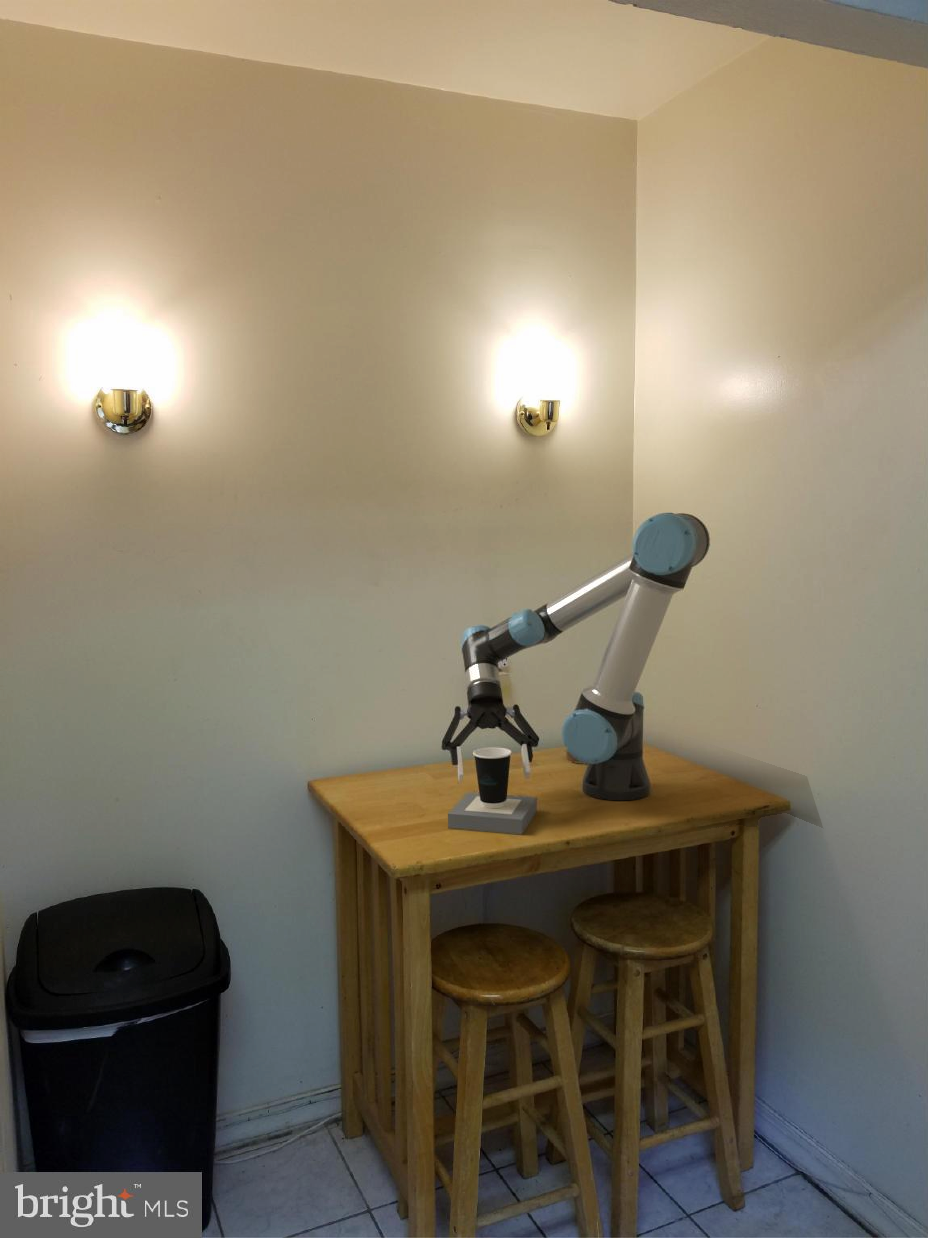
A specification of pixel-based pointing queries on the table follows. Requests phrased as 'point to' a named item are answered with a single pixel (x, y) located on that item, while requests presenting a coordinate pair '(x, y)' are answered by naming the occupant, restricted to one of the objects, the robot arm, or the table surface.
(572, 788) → the table surface
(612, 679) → the robot arm
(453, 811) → the plinth
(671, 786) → the table surface
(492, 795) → the dixie cup
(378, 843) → the table surface
